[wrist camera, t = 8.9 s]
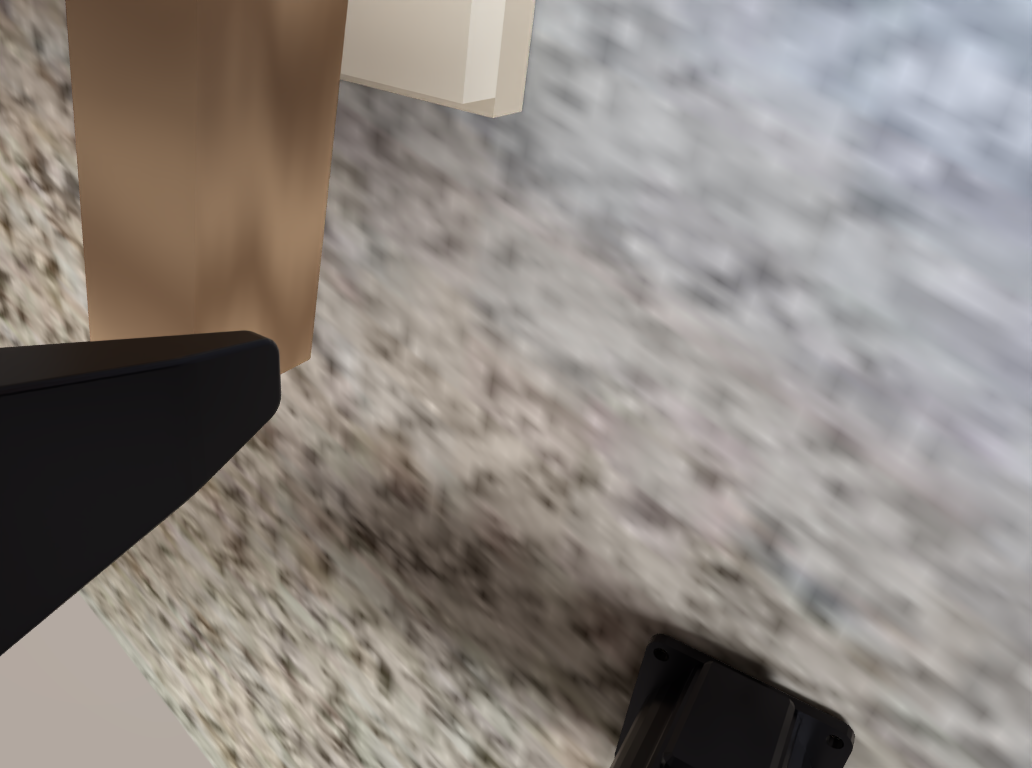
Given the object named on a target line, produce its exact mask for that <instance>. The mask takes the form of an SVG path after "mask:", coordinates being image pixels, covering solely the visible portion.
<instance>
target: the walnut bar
mask: <svg viewBox="0 0 1032 768" xmlns="http://www.w3.org/2000/svg"><path fill="white" fill-rule="evenodd" d="M65 1H66V15H67V28H68V42H69V56H70V69H71V83H72V96H73V110H74V124H75V137H76V151H77V164H78V178H79V192H80V205H81V219H82V233H83V246H84V260H85V273H86V287H87V301H88V314H89V328H90V341H102V340H116V339H129V338H143V337H157V336H171V335H185V334H199V333H213V332H227V331H241V330H248V331H252V332H255V333H257V334H260V335H262V336H264V337H267V338H269V339H271V340H273V341H274V342H275V343H276V344H277V347H278V349H279V353H280V374H282V373H284V372H286V371H288V370H290V369H292V368H294V367H296V366H298V365H300V364H301V363H303V362H305V361H307V360H309V359H310V357H311V347H312V338H313V328H314V319H315V310H316V300H317V291H318V281H319V272H320V262H321V253H322V244H323V234H324V225H325V215H326V206H327V196H328V187H329V178H330V168H331V159H332V149H333V140H334V130H335V121H336V112H337V102H338V93H339V83H340V74H341V64H342V55H343V45H344V36H345V27H346V17H347V8H348V0H65Z"/></svg>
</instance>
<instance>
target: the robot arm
mask: <svg viewBox="0 0 1032 768" xmlns="http://www.w3.org/2000/svg"><path fill="white" fill-rule="evenodd" d="M280 400H281V378H280V353H279V349H278V347H277V344H276V343H275V342H274V341H273V340H271V339H269V338H267V337H264V336H262V335H260V334H257V333H255V332H252V331H248V330H241V331H227V332H213V333H199V334H185V335H171V336H157V337H143V338H129V339H116V340H102V341H88V342H74V343H60V344H46V345H32V346H18V347H4V348H0V656H1V655H2V654H3V653H5V652H6V651H7V650H8V649H9V648H11V647H12V646H13V645H14V644H15V643H17V642H18V641H19V640H20V639H21V638H23V637H24V636H25V635H26V634H27V633H29V632H30V631H31V630H32V629H33V628H35V627H36V626H37V625H38V624H40V623H41V622H42V621H43V620H44V619H46V618H47V617H48V616H49V615H50V614H52V613H53V612H54V611H55V610H56V609H57V608H59V607H60V606H61V605H62V604H64V603H65V602H66V601H67V600H68V599H70V598H71V597H72V596H73V595H74V594H76V593H77V592H78V591H79V590H80V589H82V588H83V587H84V586H85V585H87V584H88V583H89V582H90V581H91V580H93V579H94V578H95V577H96V576H97V575H99V574H100V573H101V572H102V571H103V570H105V569H106V568H107V567H108V566H109V565H111V564H112V563H113V562H114V561H115V560H117V559H118V558H119V557H120V556H121V555H123V554H124V553H125V552H126V551H127V550H129V549H130V548H131V547H132V546H134V545H135V544H136V543H137V542H138V541H140V540H141V539H142V538H143V537H144V536H146V535H147V534H148V533H149V532H150V531H152V530H153V529H154V528H155V527H156V526H158V525H159V524H160V523H161V522H162V521H164V520H165V519H166V518H167V517H168V516H170V515H171V514H172V513H173V512H174V511H176V510H177V509H178V508H179V507H180V506H182V505H183V504H184V503H185V502H186V501H187V500H189V499H190V498H191V497H192V496H193V495H194V494H195V493H196V492H197V491H198V490H199V489H201V488H202V487H203V486H204V485H205V484H206V483H207V482H208V481H209V480H210V479H211V478H212V477H213V476H214V475H215V474H216V473H217V472H218V471H219V470H220V469H221V468H222V467H223V466H224V465H225V464H226V463H227V462H228V461H229V460H230V459H231V458H232V457H233V456H234V455H235V454H236V453H237V452H238V451H239V450H240V449H241V448H242V447H243V446H244V445H245V444H246V443H247V442H248V441H249V440H250V439H251V438H252V437H253V436H254V435H255V434H256V433H257V432H258V431H259V430H260V429H261V428H262V427H263V426H264V425H265V424H266V423H267V422H268V421H269V420H270V419H271V418H272V417H273V415H274V414H275V413H276V411H277V409H278V407H279V405H280ZM659 648H661V649H663V650H665V651H666V652H667V653H665V652H663V651H661V650H660V649H659ZM831 735H835V736H838V737H839V738H841V739H837V738H834V737H833V736H831ZM854 739H855V734H854V731H853V730H852V729H851V727H850V726H849V725H847V724H846V723H844V722H843V721H841V720H839V719H837V718H835V717H833V716H831V715H829V714H827V713H825V712H823V711H821V710H819V709H816V708H814V707H812V706H810V705H808V704H806V703H804V702H802V701H800V700H798V699H796V698H794V697H792V696H790V695H788V694H786V693H784V692H782V691H780V690H778V689H776V688H774V687H772V686H770V685H768V684H766V683H764V682H762V681H759V680H757V679H755V678H753V677H751V676H749V675H747V674H745V673H743V672H741V671H739V670H737V669H735V668H733V667H731V666H729V665H727V664H725V663H723V662H721V661H719V660H717V659H715V658H713V657H711V656H709V655H707V654H704V653H702V652H700V651H698V650H696V649H694V648H692V647H690V646H688V645H686V644H684V643H682V642H680V641H678V640H676V639H674V638H672V637H670V636H667V635H664V634H657V635H654V636H653V637H652V639H651V640H650V642H649V644H648V646H647V648H646V651H645V654H644V658H643V661H642V664H641V668H640V671H639V675H638V678H637V681H636V685H635V688H634V691H633V695H632V698H631V701H630V705H629V708H628V711H627V715H626V718H625V721H624V725H623V728H622V732H621V735H620V738H619V742H618V745H617V748H616V752H615V759H614V761H613V763H612V765H611V767H610V768H843V767H844V765H845V763H846V761H847V759H848V757H849V756H850V754H851V752H852V749H853V744H854Z"/></svg>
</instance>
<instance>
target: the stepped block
mask: <svg viewBox="0 0 1032 768" xmlns="http://www.w3.org/2000/svg"><path fill="white" fill-rule="evenodd" d="M535 1H536V0H348V8H347V17H346V27H345V36H344V45H343V55H342V64H341V74H340V80H344V81H348V82H352V83H356V84H360V85H364V86H368V87H372V88H376V89H380V90H384V91H388V92H392V93H396V94H400V95H404V96H408V97H411V98H415V99H419V100H423V101H427V102H431V103H435V104H439V105H443V106H447V107H451V108H455V109H459V110H463V111H467V112H471V113H475V114H479V115H483V116H487V117H491V118H496V117H500V116H504V115H509V114H513V113H517V112H522V106H523V98H524V90H525V82H526V74H527V66H528V58H529V50H530V41H531V33H532V25H533V17H534V9H535Z"/></svg>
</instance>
